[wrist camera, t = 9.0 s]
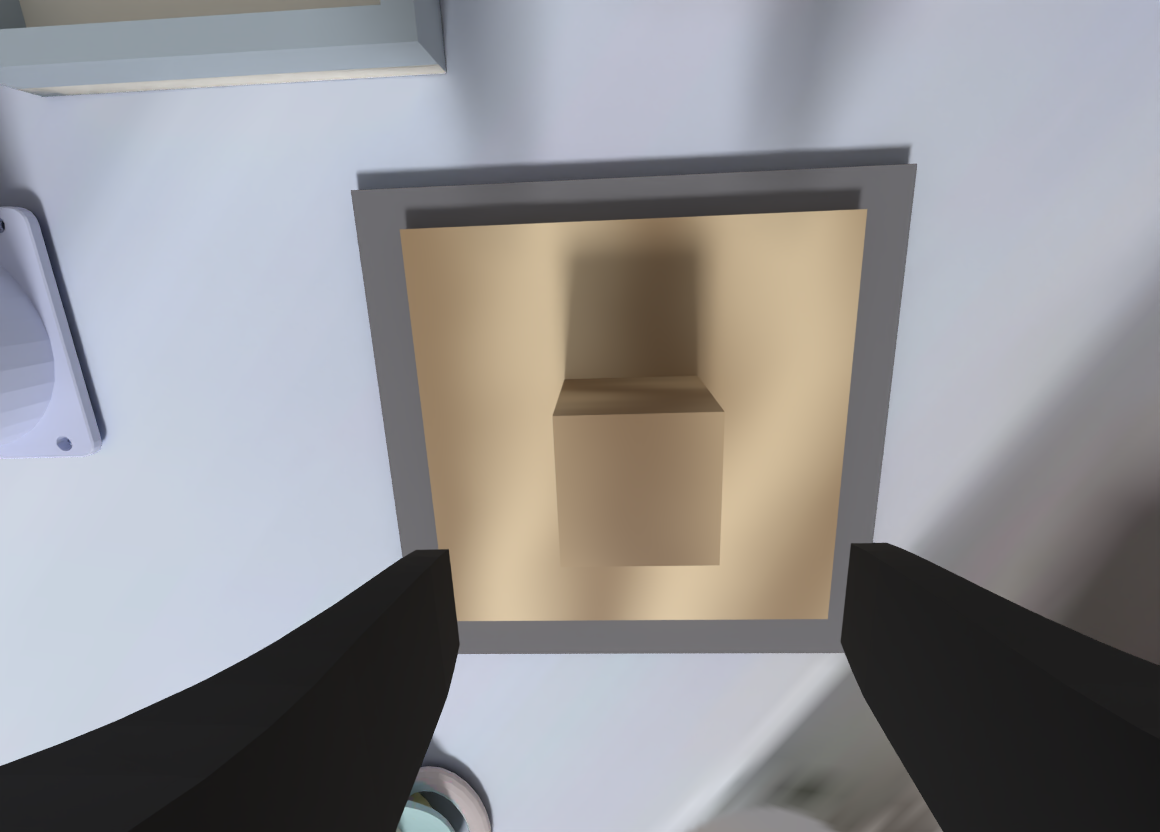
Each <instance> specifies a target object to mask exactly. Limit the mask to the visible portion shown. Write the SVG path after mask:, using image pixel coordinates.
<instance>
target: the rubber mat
mask: <svg viewBox="0 0 1160 832" xmlns="http://www.w3.org/2000/svg"><path fill="white" fill-rule="evenodd" d="M916 170H917V164H900V165H878V166H857V167H836V168H815V169H794V170H772V171H751V172H730V173H709V174H688V175H666V176H645V177H624V178H603V179H582V180H560V181H539V182H518V183H497V184H476V185H454V186H433V187H412V188H391V189H370V190H351V195H352V202H353V209H354V216H355V223H356V230H357V237H358V245H359V252H360V259H361V266H362V273H363V280H364V287H365V294H366V301H367V308H368V315H369V322H370V329H371V337H372V344H373V351H374V358H375V365H376V372H377V379H378V386H379V393H380V400H381V407H382V414H383V421H384V429H385V436H386V443H387V450H388V457H389V464H390V471H391V478H392V485H393V492H394V499H395V506H396V513H397V521H398V528H399V535H400V542H401V549H402V556H403V557H405V556H406V555H408V554H409V553H411V552H413V551H415V550H429V549H438V541H437V533H436V525H435V516H434V508H433V500H432V492H431V483H430V475H429V467H428V459H427V450H426V442H425V434H424V426H423V417H422V409H421V401H420V393H419V384H418V376H417V368H416V360H415V351H414V343H413V335H412V327H411V318H410V310H409V302H408V294H407V285H406V277H405V269H404V261H403V252H402V244H401V236H400V229H420V228H443V227H466V226H489V225H512V224H535V223H558V222H581V221H604V220H627V219H650V218H673V217H696V216H719V215H742V214H765V213H788V212H811V211H834V210H857V209H867V218H866V228H865V239H864V249H863V259H862V270H861V280H860V290H859V301H858V311H857V321H856V332H855V342H854V352H853V363H852V373H851V383H850V394H849V404H848V414H847V425H846V435H845V445H844V456H843V466H842V476H841V487H840V497H839V507H838V518H837V528H836V538H835V549H834V559H833V569H832V580H831V590H830V600H829V611H828V619H748V620H571V621H457V624H458V632H459V641H460V646H459V650H458V654H590V653H845V652H844V650H843V647H842V645H841V642H840V641H841V632H842V622H843V613H844V604H845V594H846V585H847V575H848V566H849V557H850V547H851V543H873V536H874V527H875V519H876V510H877V502H878V493H879V485H880V476H881V468H882V459H883V451H884V442H885V434H886V425H887V417H888V408H889V400H890V391H891V383H892V374H893V366H894V357H895V349H896V340H897V332H898V323H899V315H900V306H901V298H902V289H903V281H904V272H905V264H906V255H907V247H908V238H909V230H910V221H911V213H912V204H913V196H914V187H915V179H916Z"/></svg>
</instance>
